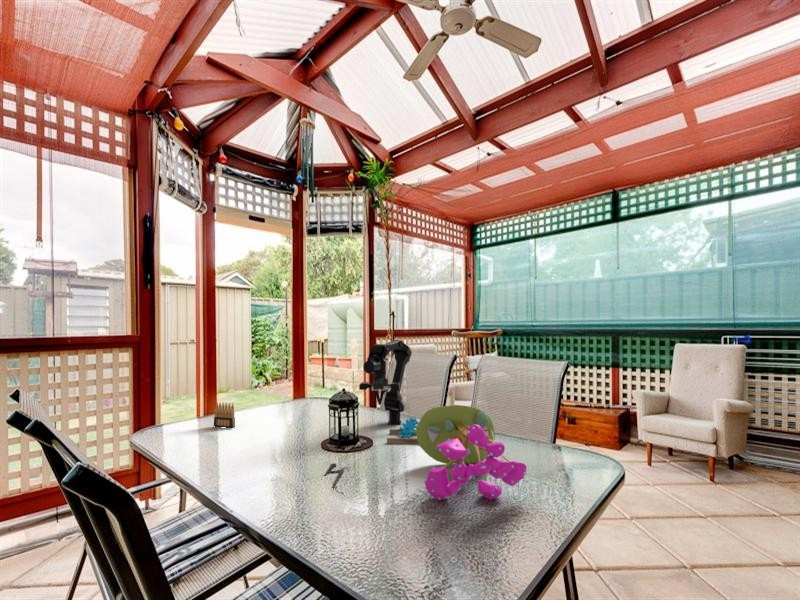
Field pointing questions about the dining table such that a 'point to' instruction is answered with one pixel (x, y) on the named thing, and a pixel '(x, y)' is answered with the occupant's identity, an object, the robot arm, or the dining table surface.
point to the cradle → (400, 440)
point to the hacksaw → (335, 472)
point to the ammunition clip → (224, 416)
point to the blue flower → (408, 428)
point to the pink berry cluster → (464, 451)
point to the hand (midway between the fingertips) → (379, 404)
